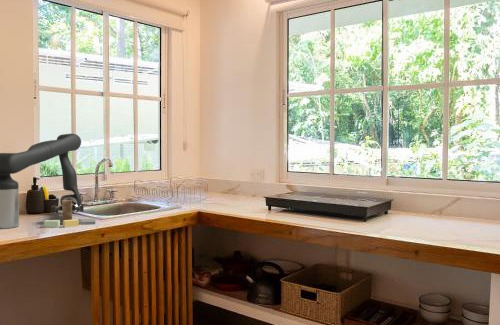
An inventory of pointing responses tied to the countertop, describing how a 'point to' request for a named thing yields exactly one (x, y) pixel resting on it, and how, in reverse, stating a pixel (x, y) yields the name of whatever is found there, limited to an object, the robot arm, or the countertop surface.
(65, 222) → the mustard brick
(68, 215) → the walnut post
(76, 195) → the robot arm
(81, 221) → the slate coaster
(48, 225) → the sage brick
